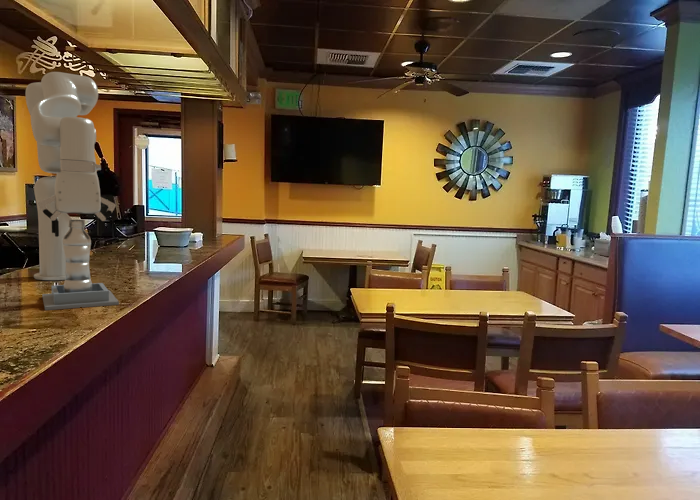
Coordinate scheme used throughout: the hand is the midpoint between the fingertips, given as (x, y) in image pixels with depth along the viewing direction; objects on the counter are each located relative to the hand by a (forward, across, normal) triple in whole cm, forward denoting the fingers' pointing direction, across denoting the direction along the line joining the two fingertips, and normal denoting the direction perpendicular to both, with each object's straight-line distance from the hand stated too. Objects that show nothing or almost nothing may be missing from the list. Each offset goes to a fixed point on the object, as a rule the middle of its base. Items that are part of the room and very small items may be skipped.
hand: (78, 235), depth 128 cm
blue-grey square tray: (+17, 0, +1) cm, 17 cm away
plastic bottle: (+16, 0, +1) cm, 16 cm away
